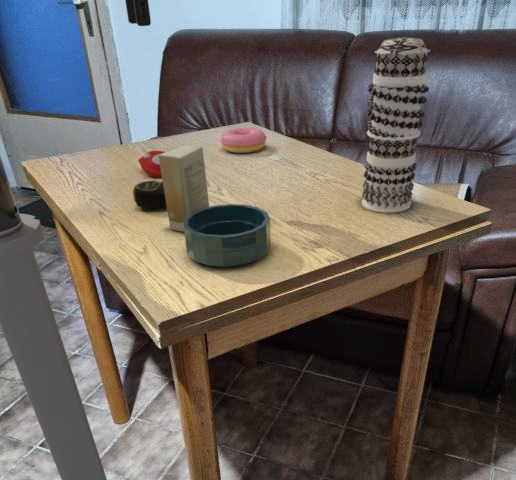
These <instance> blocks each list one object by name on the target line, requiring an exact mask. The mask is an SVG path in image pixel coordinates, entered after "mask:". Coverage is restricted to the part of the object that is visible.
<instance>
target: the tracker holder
mask: <svg viewBox="0 0 516 480" xmlns="http://www.w3.org/2000/svg"><path fill="white" fill-rule="evenodd" d="M164 152H165V151H162V150H150V151H148V152H147V153H145V154H144V155H142V156H141V157H139V158H138V162H139V164H140V167H141V169H142V170H143V172H145V174H147V175H148V176H150V177H154V178H162V174H161V168H160V162H159V155H160V154H162V153H164Z"/></svg>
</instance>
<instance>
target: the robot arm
mask: <svg viewBox="0 0 516 480" xmlns="http://www.w3.org/2000/svg"><path fill="white" fill-rule="evenodd" d="M124 1H125V2H124V3H125V9H126V14H127V21H128V23H129V24H131V25H133V24H135V25H137V26H138V27H148V26H150V25H151V24H152V20H151V12H150V5H149V0H124ZM5 169H6V168H5V166H4V163H3V160H2V156H0V238H1V237H4V236H8V235H10V234H13V233H15V232H16V231H18V230H19V229H21V228H22V226H23V223H22V220H21V218H20V215H19V214H20V211H19V206H18V203H17V202H16V200H15V197H14V194H13V191H12V188H11V184H10V181H9V177H8V175H7V173H6V170H5Z"/></svg>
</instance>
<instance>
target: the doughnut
mask: <svg viewBox="0 0 516 480" xmlns="http://www.w3.org/2000/svg"><path fill="white" fill-rule="evenodd" d="M266 141H267V136H266V133H265V132H264V131H263V130H262V129H261V128H255V127H237V128H236V127H235V128H231V129H227V130H226V131H225V132H224V133H223V134H222V135H221V137H220V142H221V146H222V148H223V149H224V150H225V151H227V152H230V153H236V154H246V153H253V152H257V151H260V150H261V149H263V148H264V147H265V145H266V143H267V142H266Z"/></svg>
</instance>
